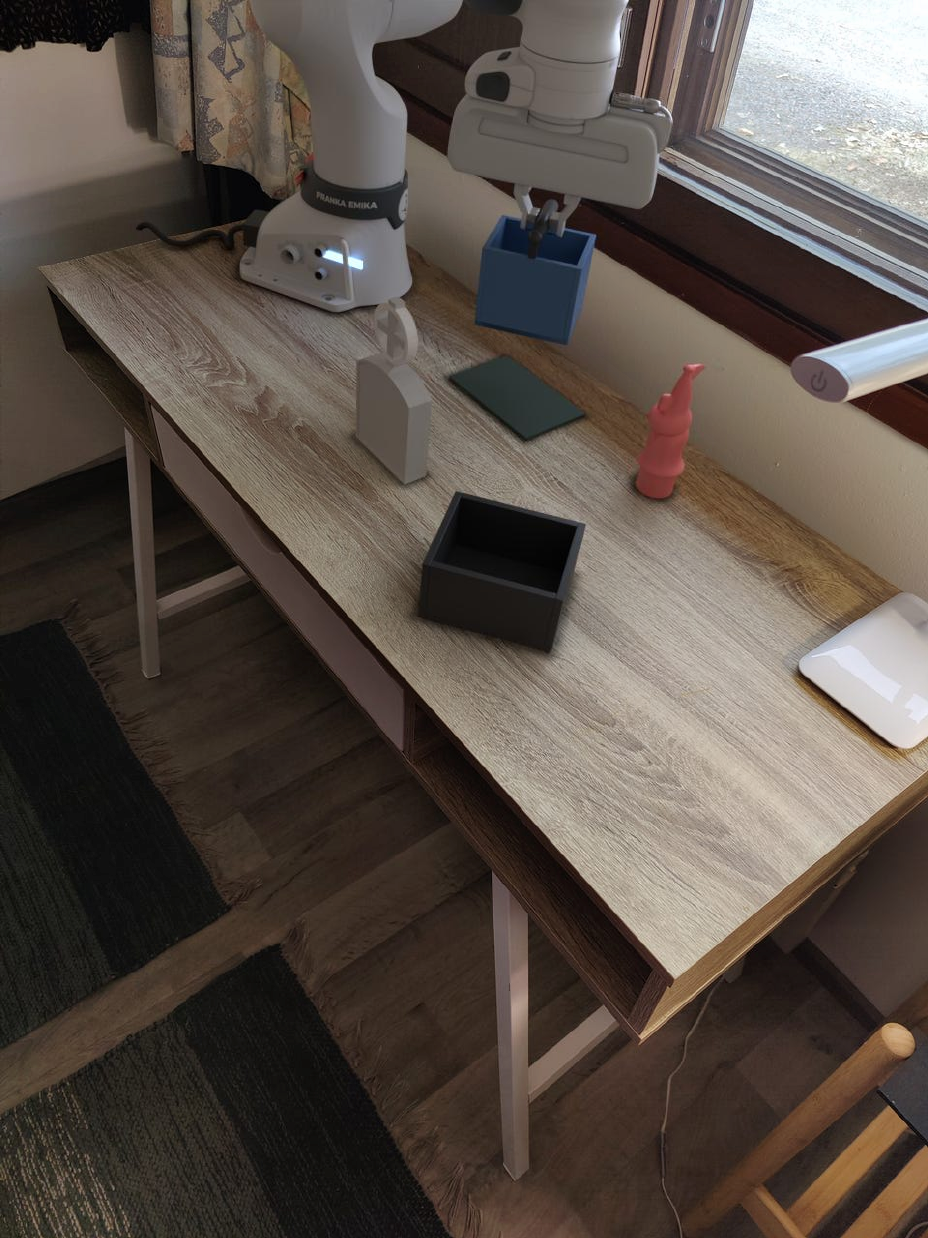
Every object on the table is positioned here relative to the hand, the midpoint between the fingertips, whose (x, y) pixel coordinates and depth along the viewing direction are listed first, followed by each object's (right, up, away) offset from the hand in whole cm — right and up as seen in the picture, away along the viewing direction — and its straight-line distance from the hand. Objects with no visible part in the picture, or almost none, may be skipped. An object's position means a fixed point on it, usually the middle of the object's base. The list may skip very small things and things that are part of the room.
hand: (541, 230), depth 97 cm
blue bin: (-1, -6, +7) cm, 10 cm away
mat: (-2, -13, +15) cm, 20 cm away
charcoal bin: (-5, -37, -8) cm, 38 cm away
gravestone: (-16, -22, +5) cm, 28 cm away
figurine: (+12, -25, +6) cm, 29 cm away
